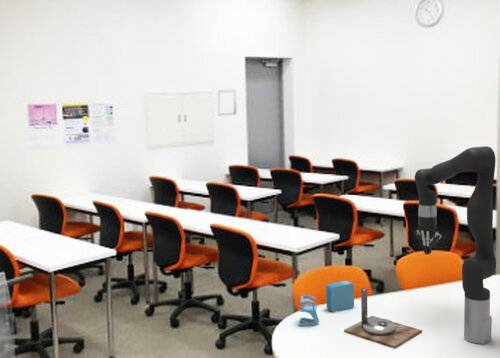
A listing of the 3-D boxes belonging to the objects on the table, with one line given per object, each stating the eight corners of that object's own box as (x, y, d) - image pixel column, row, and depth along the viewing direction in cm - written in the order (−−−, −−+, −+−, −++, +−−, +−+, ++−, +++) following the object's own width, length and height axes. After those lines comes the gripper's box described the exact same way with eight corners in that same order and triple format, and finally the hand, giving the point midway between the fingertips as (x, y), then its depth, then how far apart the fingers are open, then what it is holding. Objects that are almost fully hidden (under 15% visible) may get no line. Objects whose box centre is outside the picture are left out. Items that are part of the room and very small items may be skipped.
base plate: (422, 332, 236) (422, 329, 236) (395, 348, 222) (395, 345, 222) (372, 317, 253) (371, 315, 253) (344, 332, 239) (344, 329, 239)
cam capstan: (405, 325, 240) (405, 288, 237) (399, 338, 228) (399, 298, 226) (365, 320, 247) (365, 284, 245) (357, 332, 235) (357, 294, 233)
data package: (349, 305, 269) (348, 280, 268) (354, 308, 265) (354, 282, 264) (326, 309, 265) (325, 284, 263) (331, 312, 261) (330, 287, 259)
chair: (318, 327, 246) (317, 299, 244) (298, 326, 247) (297, 299, 246) (319, 320, 253) (319, 293, 251) (300, 319, 255) (299, 293, 253)
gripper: (446, 215, 248) (446, 254, 250) (418, 211, 257) (418, 249, 260) (437, 218, 243) (437, 258, 245) (409, 214, 252) (409, 253, 254)
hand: (427, 253), depth 252 cm, fingers closed
